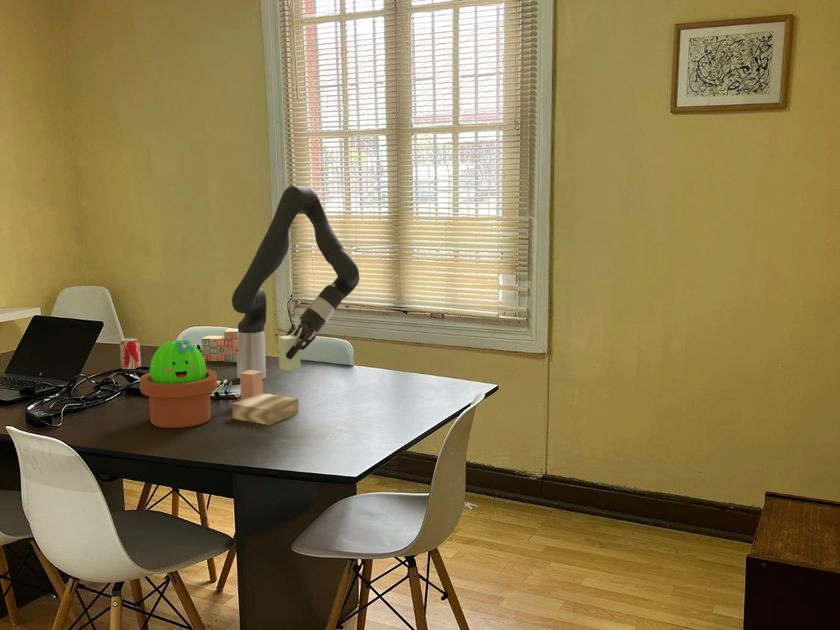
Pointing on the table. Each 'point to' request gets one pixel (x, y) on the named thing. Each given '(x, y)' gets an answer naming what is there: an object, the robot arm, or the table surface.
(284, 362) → the sage-green block
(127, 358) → the soda can
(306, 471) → the table surface
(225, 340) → the stack of blocks
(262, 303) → the robot arm
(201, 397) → the potted cactus
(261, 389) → the clay-red block
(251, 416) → the birch plinth block
